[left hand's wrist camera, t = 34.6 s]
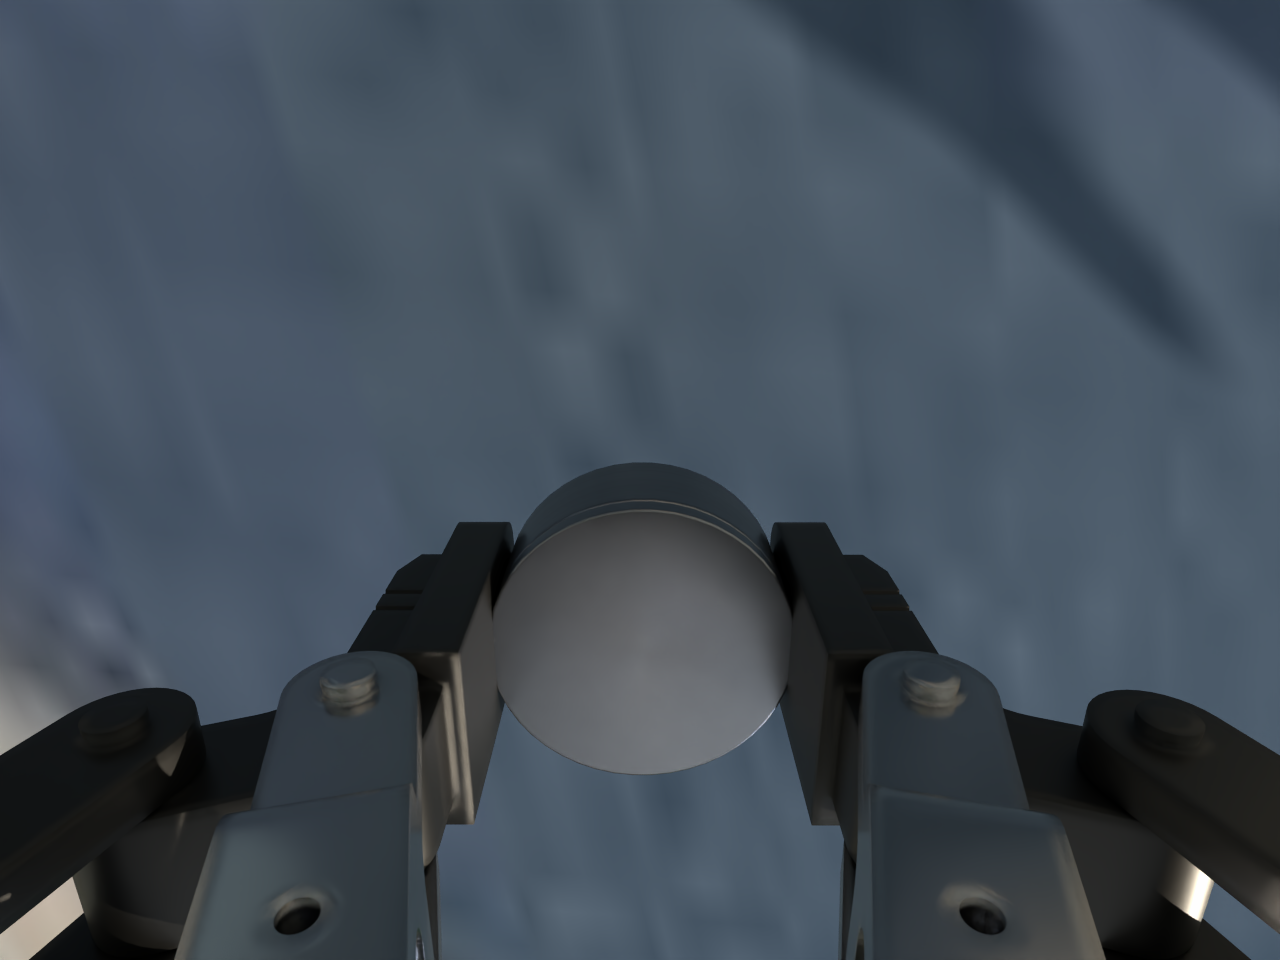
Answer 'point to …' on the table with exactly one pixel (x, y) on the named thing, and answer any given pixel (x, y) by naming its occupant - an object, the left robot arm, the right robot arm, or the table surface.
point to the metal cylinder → (642, 621)
